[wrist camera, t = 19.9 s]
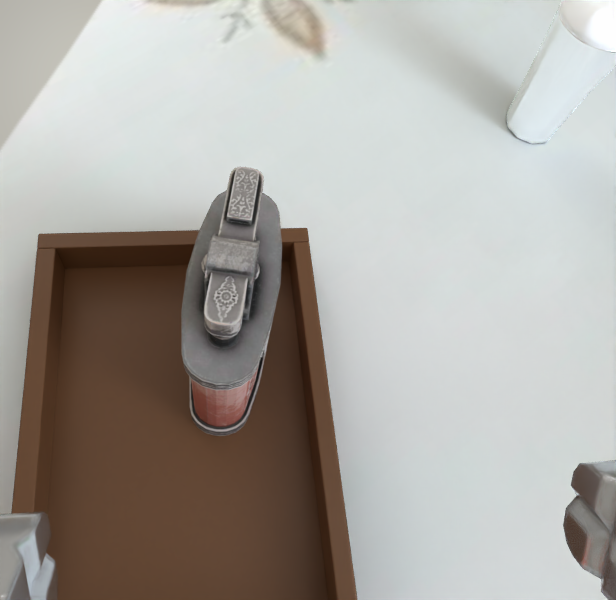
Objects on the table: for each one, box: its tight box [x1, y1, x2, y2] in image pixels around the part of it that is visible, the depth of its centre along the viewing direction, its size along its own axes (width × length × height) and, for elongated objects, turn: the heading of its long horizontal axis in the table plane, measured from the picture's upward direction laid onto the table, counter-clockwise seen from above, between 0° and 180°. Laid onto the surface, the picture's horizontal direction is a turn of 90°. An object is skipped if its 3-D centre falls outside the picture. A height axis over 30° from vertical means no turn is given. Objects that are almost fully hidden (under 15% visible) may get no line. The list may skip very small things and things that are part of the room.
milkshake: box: [506, 0, 616, 144], centre depth 33 cm, size 5×5×10 cm
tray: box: [11, 228, 357, 600], centre depth 25 cm, size 19×13×2 cm
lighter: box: [182, 167, 282, 436], centre depth 23 cm, size 8×3×10 cm, turn 175°
